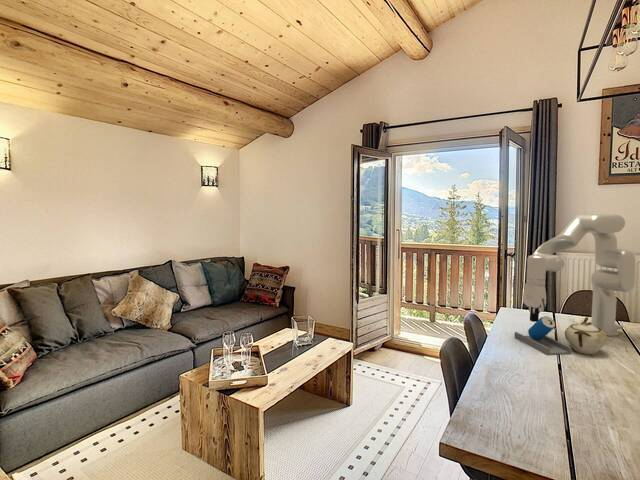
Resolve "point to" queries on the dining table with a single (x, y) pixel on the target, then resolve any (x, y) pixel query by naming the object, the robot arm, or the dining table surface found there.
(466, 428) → the dining table surface
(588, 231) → the robot arm
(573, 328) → the sugar bowl
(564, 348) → the tray
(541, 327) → the beverage can
